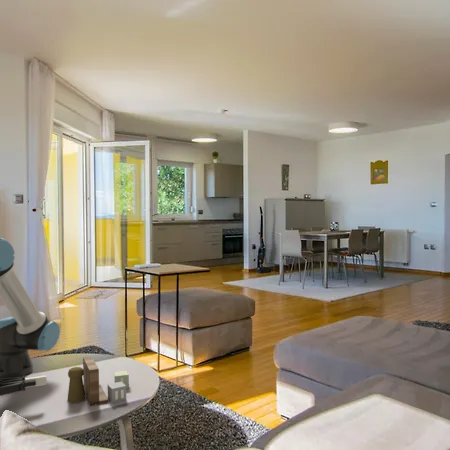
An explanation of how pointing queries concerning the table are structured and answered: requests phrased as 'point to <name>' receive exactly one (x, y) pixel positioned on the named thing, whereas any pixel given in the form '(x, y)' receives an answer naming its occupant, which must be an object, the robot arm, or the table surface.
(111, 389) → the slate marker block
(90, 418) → the table surface
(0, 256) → the robot arm
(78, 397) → the cork
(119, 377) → the sage marker block
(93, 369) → the backstop board
